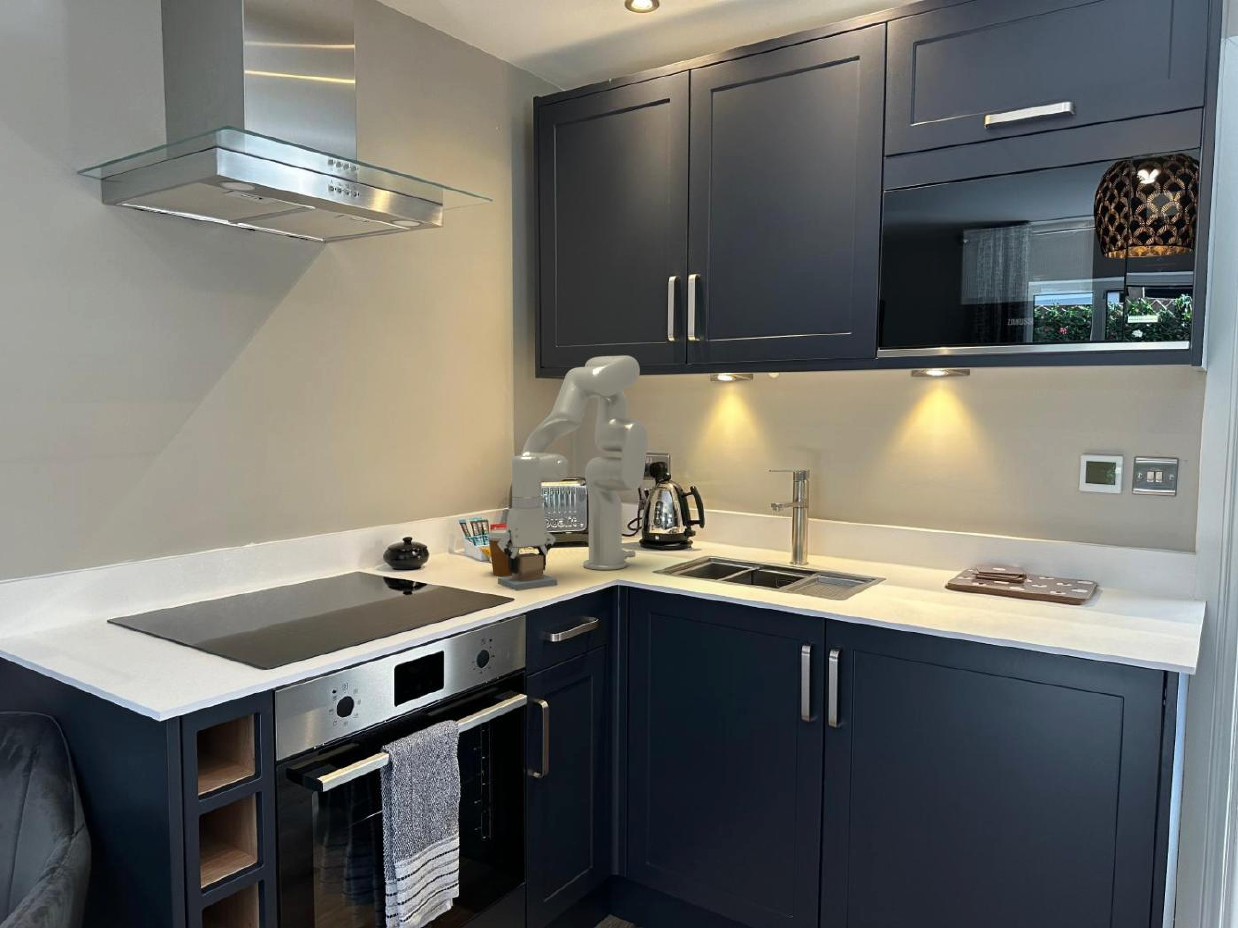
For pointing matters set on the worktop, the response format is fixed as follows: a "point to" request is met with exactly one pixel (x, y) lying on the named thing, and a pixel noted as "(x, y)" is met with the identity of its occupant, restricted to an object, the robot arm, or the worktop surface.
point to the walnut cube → (529, 567)
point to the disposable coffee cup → (498, 553)
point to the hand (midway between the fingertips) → (527, 570)
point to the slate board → (526, 582)
